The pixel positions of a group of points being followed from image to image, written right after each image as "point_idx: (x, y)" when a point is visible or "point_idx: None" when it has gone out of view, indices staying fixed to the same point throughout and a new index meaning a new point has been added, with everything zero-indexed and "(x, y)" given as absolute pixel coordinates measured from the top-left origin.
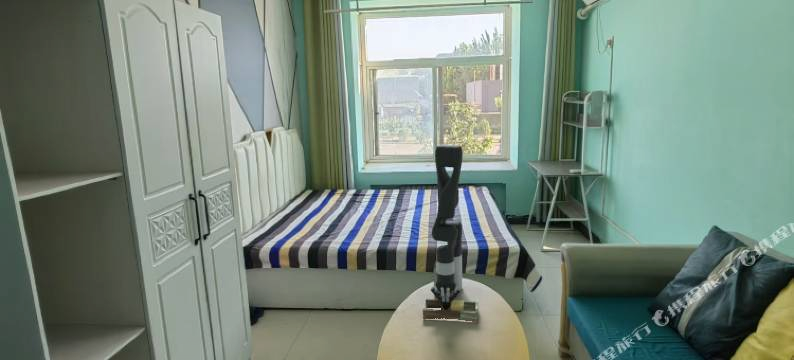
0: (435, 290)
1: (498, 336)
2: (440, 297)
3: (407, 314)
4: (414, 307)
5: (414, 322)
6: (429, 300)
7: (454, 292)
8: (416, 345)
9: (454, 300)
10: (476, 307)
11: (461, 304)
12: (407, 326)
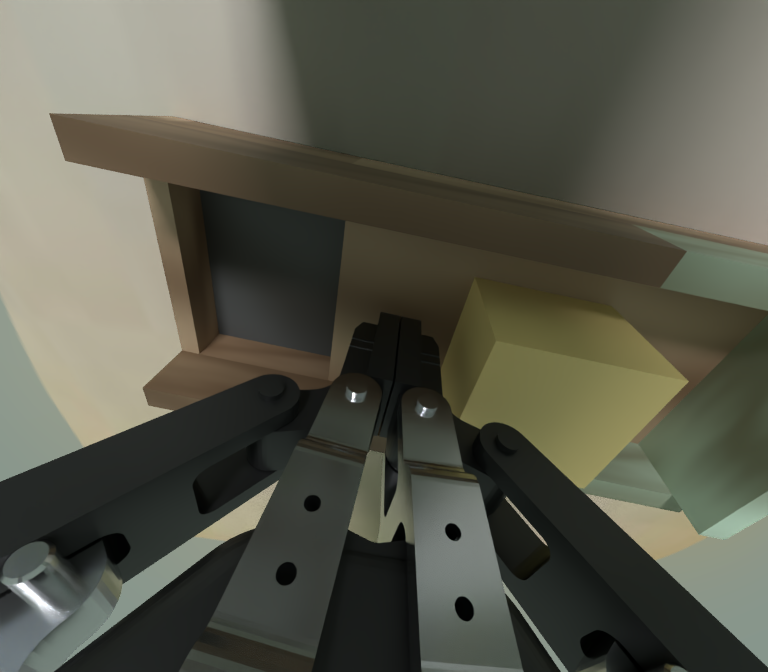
0: (84, 634)
1: (660, 530)
2: (282, 467)
3: (43, 245)
4: (26, 82)
5: (158, 363)
6: (139, 174)
7: (585, 565)
8: (237, 516)
9: (532, 362)
10: (730, 523)
11: (585, 458)
12: (132, 397)
